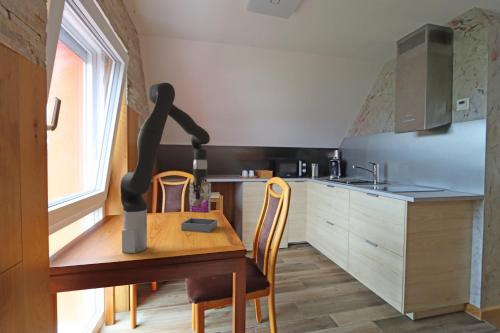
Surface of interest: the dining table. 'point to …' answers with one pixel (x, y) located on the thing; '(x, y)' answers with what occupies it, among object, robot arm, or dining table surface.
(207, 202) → the candy bar box
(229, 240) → the dining table surface
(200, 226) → the tray
